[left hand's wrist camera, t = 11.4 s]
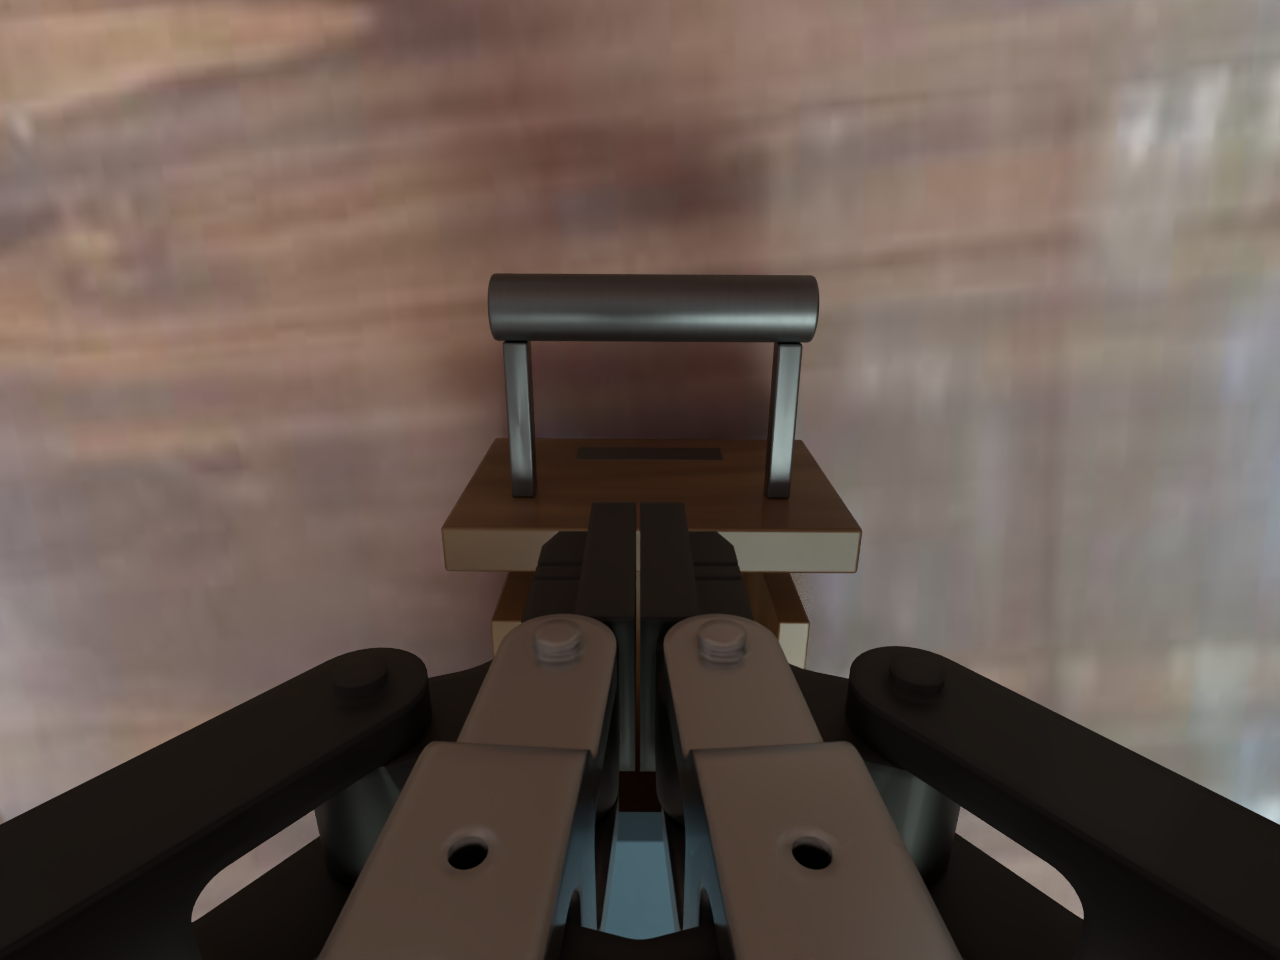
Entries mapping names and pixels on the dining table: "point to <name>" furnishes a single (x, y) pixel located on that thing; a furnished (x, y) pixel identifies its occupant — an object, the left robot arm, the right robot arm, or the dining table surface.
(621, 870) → the blue box
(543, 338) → the drawer
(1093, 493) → the dining table surface
